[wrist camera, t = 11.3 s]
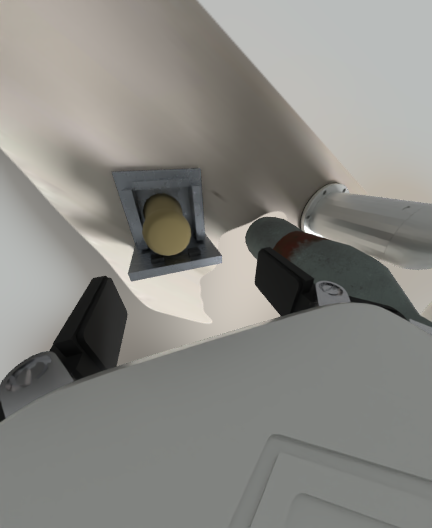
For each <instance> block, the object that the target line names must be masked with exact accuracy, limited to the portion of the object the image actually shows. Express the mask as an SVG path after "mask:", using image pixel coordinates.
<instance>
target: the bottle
mask: <svg viewBox="0 0 432 528" xmlns="http://www.w3.org/2000/svg"><path fill="white" fill-rule="evenodd" d="M245 238H246V244H247V246H248V249H249V251H250V252H251V253H252V255H253V256H254V257H255V258H256V259H258V252H259V251H260V250H261V248H266V247H271V248H272V249H273V250H275V251H276V252H278V253H279V254H280V255H282V256H283V257H285V258H286V259H287V260H289V261H290V262H292V263H293V264H295V265H296V266H297V267H299V268H300V269H302V270H303V271H304V272H306V273H307V274H309V275H310V276H311V277H313V278H314V282H313V283H314V284H316V283H317V282H319V281H330V282H333V283H336V284H338V285H340V286H342V287H343V288H344V289H345V290H346V292H347V294H348V296H352V297H356V298H360V299H364V300H368V301H372V302H376V303H380V304H383V305H388V306H391V307H393V308H395V309H396V310H397V311H399V312H400V313H401V314H403V315H404V316H405V318H406V319H407V321H408V320H409V319H412V320H414V321H417V322H419V323H422V324H424V325H427V326H429V327H432V322H431V321H429V320H428V319H426V318H424V317H422V316H421V315H419V313H418V312H417V310H416V309H415V307H414V306H413V305H412V303H411V302H410V300H409V299H408V297H407V296H406V294H405V293H404V291H403V290H402V288H401V287H400V286H399V284H398V283H397V281H396V280H395V278H394V277H393V275H392V274H391V272H390V271H389V270H388V268H387V267H385V266H384V265H383V264H381V263H380V262H379V261H377V260H376V259H374V258H373V257H371V256H369V255H367V254H365V253H364V252H362V251H360V250H358V249H356V248H354V247H352V246H350V245H347V244H343V243H339V242H336V241H332V240H329V239H326V238H322V237H319V236H316V235H313V234H310V233H307V232H304V231H302V230H301V229H299V228H298V227H296V226H294V225H293V224H291V223H289V222H288V221H286V220H284V219H280V218H276V217H263V218H259V219H258V220H256V221H255V222H253V223H252V225H251V226H250V227H249V229H248V231H247V233H246V237H245Z"/></svg>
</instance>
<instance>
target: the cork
mask: <svg viewBox="0 0 432 528" xmlns="http://www.w3.org/2000/svg"><path fill="white" fill-rule="evenodd" d="M143 214H144V218H145V222H144V224H143V230H142V234H143V238H144V241H145V242H146V244H147V245H148V247H149V248H150V249H151V250H153V251H154V252H156V253H158V254H160V255H166V256H170V255H175V254H178V253H180V252H182V251H183V250H184V249H185V248H186V247H187V245H188V244H189V241H190V237H191V228H190V226H189V223H188V221H187V220H186V219H185V217H184V216H183V213H182V208H181V206H180V204H179V202H178V201H177V200H176V199H175V198H173V197H172V196H170V195H167V194H164V193H162V194H155V195H153V196H151V197H150V198H148V199H147V200H146V202H145V204H144V207H143Z"/></svg>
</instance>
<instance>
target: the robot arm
mask: <svg viewBox="0 0 432 528" xmlns="http://www.w3.org/2000/svg"><path fill="white" fill-rule="evenodd" d="M301 229H302V231H304V232H307V233H310V234H313V235H316V236H319V237H322V238H324V237H325V238H327V239H330V240H332V241H336V242H339V243H343V244H347V245H350V246H352V247H354V248H356V249H358V250H360V251H362V252H364V253H365V254H367V255H369V256H372V257H374V258H377V259H379V260H382V261H384V262H387V263H389V264H392V265H394V266H398V267H401V268H405V269H415V270H419V269H432V204H428V203H421V202H413V201H405V200H397V199H389V198H382V197H374V196H366V195H358V194H350V193H349V191H348V189H347V187H346V186H345V185H342V184H338V183H333V184H329V185H326V186H324V187H322V188H321V189H320V190H318V191H317V192H316V193H315V194H314V195H313V196H312V198H311V199H310V200H309V202H308V203H307V205H306V207H305V209H304V212H303V215H302V219H301ZM313 282H314V278H313V277H311V276H310V275H309V274H307V273H306V272H304V271H303V270H302V269H300V268H299V267H297V266H296V265H295V264H293V263H292V262H290V261H289V260H287V259H286V258H285V257H283V256H282V255H280V254H279V253H278V252H276V251H275V250H273V249H272V248H271V247H266V248H261V250H260V251H259V252H258V259H257V267H256V275H255V285H256V286H257V287H258V289H259V290H260V291H261V292H262V294H263V295H264V296H265V297H266V298H267V300H268V301H269V302H270V303H271V305H272V306H273V307H274V308H275V309H276V311H277V312H278V313H279V314H280V315H281V317H278V318H275V319H271V320H268V321H264V322H261V323H258V324H254V325H251V326H247V327H244V328H241V329H237V330H234V331H230V332H227V333H224V334H220V335H217V336H214V337H210V338H207V339H204V340H200V341H197V342H194V343H190V344H187V345H184V346H181V347H178V348H174V349H171V350H168V351H164V352H161V353H158V354H155V355H151V356H148V357H145V358H141V359H138V360H135V361H132V362H129V363H126V364H123V365H119V366H116V365H117V361H118V356H119V352H120V347H121V343H122V338H123V334H124V329H125V324H126V320H127V311H126V308H125V306H124V304H123V302H122V300H121V298H120V296H119V294H118V291H117V289H116V287H115V285H114V283H113V281H112V279H111V278H108V277H107V276H102V277H97V278H93V279H92V280H91V282H90V284H89V286H88V287H87V289H86V290H85V292H84V294H83V295H82V297H81V298H80V300H79V302H78V304H77V305H76V307H75V308H74V310H73V312H72V313H71V315H70V316H69V318H68V320H67V321H66V323H65V325H64V326H63V328H62V329H61V331H60V333H59V335H58V336H57V338H56V339H55V341H54V343H53V346H52V348H51V349H50V351H46V352H41V353H38V354H36V355H33V356H31V357H29V358H28V359H26V360H24V361H23V362H21V363H20V364H18V365H17V366H16V367H15V368H14V369H12V370H11V371H10V372H9V373H8V374H7V375H6V377H5V378H4V379H3V380H2V382H1V384H0V528H432V327H429V326H427V325H424V324H422V323H419V322H417V321H414V320H412V319H409V320H408V321H407V319H406V318H405V316H404V315H403V314H401V313H400V312H399V311H397V310H396V309H395V308H393V307H391V306H388V305H383V304H380V303H376V302H372V301H368V300H364V299H360V298H356V297H352V296H348V294H347V292H346V290H345V289H344V288H343V287H342V286H340V285H338V284H336V283H333V282H330V281H319V282H317V283H316V284H314V283H313ZM421 316H422V317H424V318H426V319H428V320H429V321H431V322H432V302H431V303H430V304H429V305H428V306H427V307H426V308H425V309H424V311H423V312H422V314H421Z"/></svg>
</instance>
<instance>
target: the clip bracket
mask: <svg viewBox="0 0 432 528" xmlns="http://www.w3.org/2000/svg"><path fill="white" fill-rule="evenodd" d="M112 175H113V178H114V181H115V184H116V187H117V190H118V193H119V196H120V199H121V202H122V205H123V208H124V211H125V214H126V217H127V220H128V223H129V226H130V230H131V233H132V236H133V239H134V242H135V248H134V252H133V256H132V260H131V264H130V268H129V272H128V275H129V277H130V280H131V281H136V280H141V279H145V278H150V277H155V276H160V275H165V274H170V273H175V272H180V271H185V270H190V269H195V268H200V267H204V266H209V265H214V264H219V263H222V255H221V254H220V252H219V251H218V250H217V249H216V247H215V246H214V245H213V243H212V242H211V241H210V240H209V238H208V237H207V236H206V234H205V226H204V212H203V198H202V184H201V170H200V168H194V169H169V170H144V171H119V172H112ZM162 193H164V194H167V195H170V196H172V197H173V198H175V199H176V200H177V201H178V202H179V204H180V206H181V208H182V213H183V216H184V217H185V219H186V220H187V221H188V223H189V226H190V228H191V237H190V241H189V244H188V245H187V247H186V248H185V249H184V250H183V251H182V252H180V253H178V254H175V255H170V256H166V255H160V254H158V253H156V252H154V251H153V250H151V249H150V248H149V247H148V245H147V244H146V242H145V241H144V238H143V234H142V230H143V224H144V222H145V218H144V214H143V207H144V204H145V202H146V200H147V199H148V198H150V197H151V196H153V195H155V194H162Z"/></svg>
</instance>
